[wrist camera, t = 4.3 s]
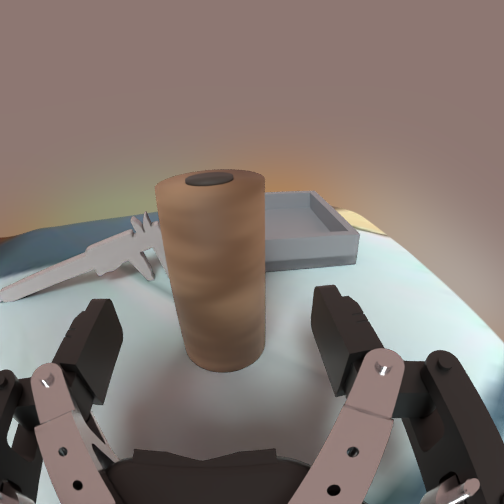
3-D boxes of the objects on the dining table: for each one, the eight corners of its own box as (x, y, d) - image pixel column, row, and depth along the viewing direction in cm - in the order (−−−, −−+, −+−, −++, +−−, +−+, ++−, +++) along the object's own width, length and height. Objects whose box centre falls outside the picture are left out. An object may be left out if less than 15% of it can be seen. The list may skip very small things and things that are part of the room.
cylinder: (182, 373, 15) (141, 197, 10) (188, 318, 19) (166, 171, 15) (269, 369, 15) (272, 187, 11) (260, 314, 20) (257, 164, 15)
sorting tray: (177, 278, 24) (171, 246, 23) (192, 219, 36) (189, 197, 35) (355, 263, 25) (359, 234, 24) (313, 212, 38) (314, 190, 36)
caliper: (173, 273, 25) (162, 207, 22) (174, 279, 24) (162, 211, 22) (0, 300, 21) (-22, 247, 18) (-4, 306, 20) (-27, 252, 17)
